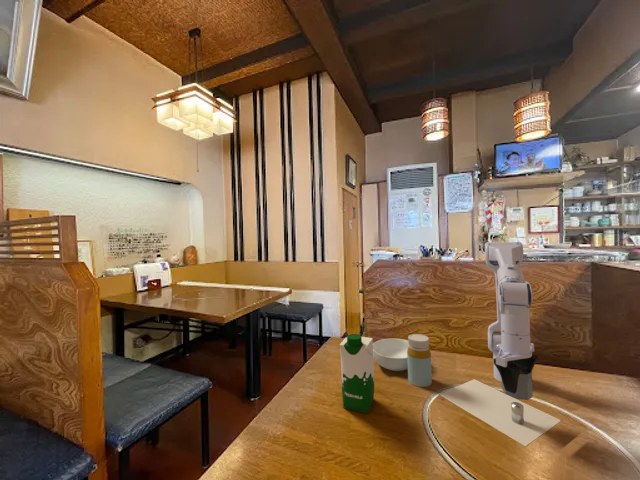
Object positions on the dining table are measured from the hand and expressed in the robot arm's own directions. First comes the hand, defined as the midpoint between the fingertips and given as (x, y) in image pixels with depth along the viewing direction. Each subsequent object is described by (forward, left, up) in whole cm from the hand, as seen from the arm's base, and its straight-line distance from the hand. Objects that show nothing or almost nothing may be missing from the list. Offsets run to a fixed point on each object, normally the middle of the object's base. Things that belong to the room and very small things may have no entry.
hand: (516, 387), depth 66 cm
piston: (0, 0, -8) cm, 8 cm away
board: (-1, -6, -10) cm, 11 cm away
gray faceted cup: (0, 0, -1) cm, 1 cm away
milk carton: (+28, -27, -10) cm, 40 cm away
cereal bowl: (+4, -38, -10) cm, 39 cm away
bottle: (+6, -25, -10) cm, 27 cm away
